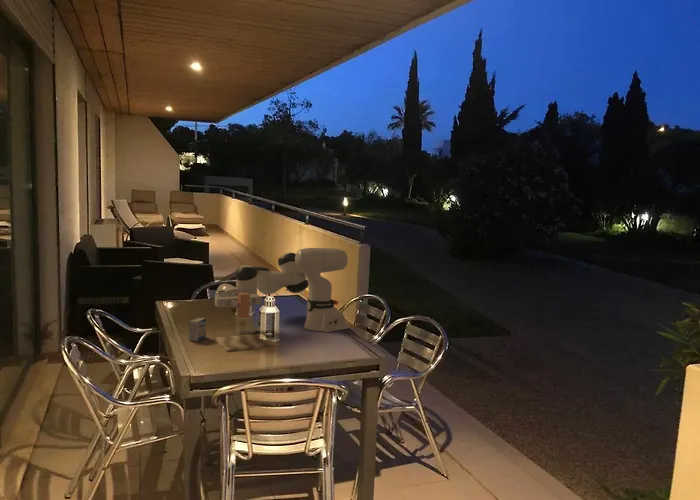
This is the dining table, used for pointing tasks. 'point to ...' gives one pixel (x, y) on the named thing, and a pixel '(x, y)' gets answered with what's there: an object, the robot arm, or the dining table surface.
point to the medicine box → (197, 329)
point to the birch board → (243, 342)
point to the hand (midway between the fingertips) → (244, 304)
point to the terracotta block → (243, 305)
